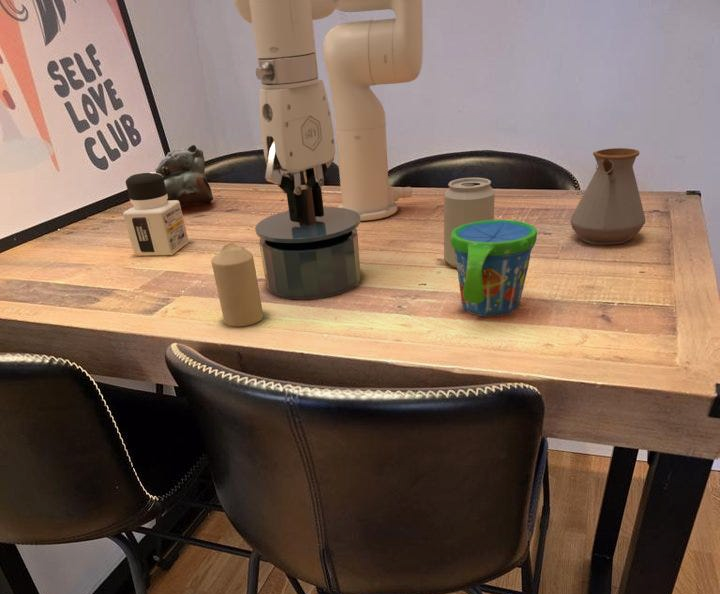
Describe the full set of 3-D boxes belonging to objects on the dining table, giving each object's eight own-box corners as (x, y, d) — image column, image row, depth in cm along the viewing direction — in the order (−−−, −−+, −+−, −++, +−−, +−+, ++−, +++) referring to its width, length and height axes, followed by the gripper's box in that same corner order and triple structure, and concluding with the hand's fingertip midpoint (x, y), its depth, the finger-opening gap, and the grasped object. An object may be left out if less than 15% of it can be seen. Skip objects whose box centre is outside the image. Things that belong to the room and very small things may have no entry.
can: (495, 255, 104) (499, 174, 97) (487, 271, 98) (490, 187, 91) (449, 254, 106) (450, 175, 99) (438, 269, 100) (438, 187, 93)
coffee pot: (574, 226, 113) (586, 130, 104) (645, 229, 109) (663, 129, 100) (550, 267, 98) (561, 158, 89) (631, 272, 93) (651, 158, 84)
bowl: (343, 260, 108) (339, 216, 104) (374, 287, 96) (371, 239, 92) (258, 277, 104) (250, 232, 100) (280, 306, 93) (272, 258, 89)
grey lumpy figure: (140, 214, 144) (129, 149, 142) (181, 222, 154) (171, 161, 152) (188, 195, 136) (177, 126, 134) (227, 205, 146) (217, 141, 144)
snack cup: (478, 283, 94) (481, 210, 88) (549, 293, 89) (556, 216, 83) (428, 323, 84) (426, 244, 78) (504, 337, 79) (509, 253, 73)
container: (172, 255, 117) (153, 178, 110) (133, 256, 119) (112, 180, 111) (189, 242, 123) (172, 168, 116) (152, 243, 125) (133, 170, 117)
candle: (226, 313, 93) (211, 242, 87) (264, 309, 93) (251, 238, 87) (222, 329, 88) (206, 255, 82) (262, 324, 88) (249, 250, 82)
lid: (341, 208, 104) (337, 168, 100) (376, 234, 92) (373, 189, 88) (246, 226, 100) (239, 185, 97) (270, 255, 89) (262, 209, 85)
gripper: (263, 82, 77) (286, 238, 89) (351, 63, 87) (361, 207, 98) (222, 81, 81) (249, 231, 93) (310, 64, 91) (325, 201, 102)
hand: (307, 217), depth 95 cm, fingers closed on lid, 2 cm apart
